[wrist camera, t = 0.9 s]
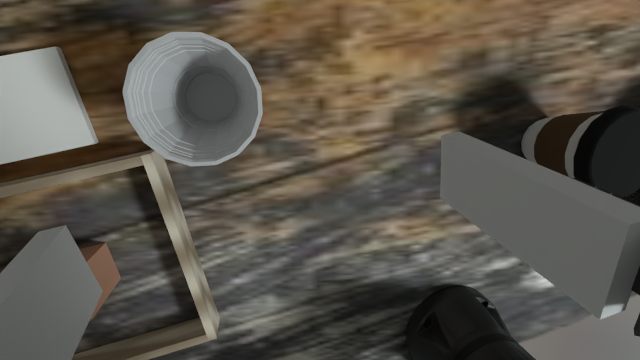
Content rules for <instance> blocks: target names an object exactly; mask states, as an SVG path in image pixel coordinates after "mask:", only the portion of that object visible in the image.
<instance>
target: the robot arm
mask: <svg viewBox="0 0 640 360" xmlns="http://www.w3.org/2000/svg"><path fill="white" fill-rule="evenodd" d="M440 198H441V199H442V200H443V201H444V202H446V203H447V204H448V205H450V206H451V207H452V208H454V209H455V210H456V211H458V212H459V213H460V214H462V215H463V216H464V217H465V218H467V219H468V220H469V221H471V222H472V223H473V224H475V225H476V226H477V227H479V228H480V229H481V230H483V231H484V232H485V233H486V234H488V235H489V236H490V237H492V238H493V239H494V240H496V241H497V242H498V243H500V244H501V245H502V246H504V247H505V248H506V249H508V250H509V251H510V252H511V253H513V254H514V255H515V256H517V257H518V258H519V259H521V260H522V261H523V262H525V263H526V264H527V265H529V266H530V267H531V268H532V269H534V270H535V271H536V272H538V273H539V274H540V275H542V276H543V277H544V278H546V279H547V280H548V281H550V282H551V283H552V284H553V285H555V286H556V287H557V288H559V289H560V290H561V291H563V292H564V293H565V294H567V295H568V296H569V297H571V298H572V299H573V300H574V301H576V302H577V303H578V304H580V305H581V306H582V307H584V308H585V309H586V310H588V311H589V312H590V313H592V314H593V315H594V316H596V317H597V318H598V319H603V318H605V317H608V316H611V315H613V314H616V313H618V312H621V311H623V310H625V308H626V306H627V303H628V300H629V297H630V295H631V292H632V291H634V292H635V293H637V294H639V295H640V204H637V203H635V202H632V201H630V200H628V199H625V198H623V197H620V196H618V195H612V193H611V192H608V191H606V190H603V189H601V188H599V189H597V187H596V186H594V185H591V184H589V183H586V182H584V181H581V180H579V179H575V178H571V177H567V176H565V175H562V174H560V173H558V172H555V171H553V170H550V169H548V168H546V167H543V166H541V165H538V164H536V163H534V162H531V161H529V160H526V159H524V158H522V157H519V156H517V155H515V154H512V153H510V152H507V151H505V150H503V149H500V148H498V147H495V146H493V145H491V144H488V143H486V142H483V141H481V140H479V139H476V138H474V137H471V136H469V135H467V134H464V133H462V132H460V131H459V132H455V133H451V134H447V135H442V144H441V191H440ZM102 292H103V290H102V288H101V287H100V285H99V283H98V281H97V280H96V278H95V276H94V274H93V272H92V271H91V269H90V267H89V265H88V264H87V262H86V260H85V258H84V257H83V255H82V253H81V251H80V250H79V248H78V246H77V244H76V243H75V241H74V239H73V237H72V235H71V234H70V232H69V230H68V228H67V227H66V225H64V226H60V227H56V228H52V229H47V230H43V231H39V232H38V233H37V234H36V235H35V236H34V237H33V238H32V239H31V240H30V241H29V242H28V244H27V245H26V246H25V247H24V248H23V249H22V250H21V251H20V252H19V253H18V254H17V256H16V257H15V258H14V259H13V260H12V261H11V262H10V263H9V264H8V265H7V266H6V267H5V269H4V270H3V271H2V272H1V273H0V360H72V358H73V356H74V353H75V351H76V349H77V347H78V345H79V342H80V340H81V338H82V336H83V334H84V332H85V329H86V327H87V325H88V323H89V321H90V319H91V316H92V314H93V312H94V310H95V308H96V305H97V303H98V301H99V299H100V297H101V295H102ZM634 335H636V336H640V314H639V316H638V319H637V322H636V324H635V327H634ZM406 345H407V348H408V351H409V353H410V354H411V356H412V358H413V359H414V360H536V359H534V358H533V357H532V356H531V355H530V354H529V353H528V352H527V351H526V350H525V349H524V348H523V347H521V346H520V345H519V344H518V343H517V342H516V341H515V340H514V339H513V338H512V337H511V335H510V333H509V331H508V329H507V328H506V326H505V324H504V322H503V320H502V318H501V317H500V315H499V313H498V311H497V309H496V308H495V306H494V305H493V304H492V303H491V302H490V301H489V300H488V299H487V298H486V297H485V296H483V295H482V294H481V293H480V292H478V291H477V290H475V289H472V288H469V287H463V286H457V287H450V288H446V289H443V290H441V291H438V292H436V293H434V294H433V295H431V296H430V297H428V298H427V299H426V300H425V301H423V302H422V303H421V304H420V305H419V307H418V308H417V309H416V310H415V312H414V313H413V315H412V317H411V318H410V321H409V323H408V326H407V330H406Z"/></svg>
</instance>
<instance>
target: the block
mask: <svg viewBox="0 0 640 360" xmlns="http://www.w3.org/2000/svg"><path fill="white" fill-rule="evenodd" d="M79 250H80V251H81V253H82V255H83V257H84V258H85V260H86V262H87V264H88V265H89V267H90V269H91V271H92V272H93V274H94V276H95V278H96V280H97V281H98V283H99V285H100V287H101V288H102V290H103V292H102V295H101V297H100V299H99V301H98V303H97V305H96V308H95V310H94V312H93V314H92V316H91V319H90V320H92V319H93V318H94V316H95V315H96V314H97V312H98V311H99V309H100V308H101V306H102V305H103V303H104V302H105V301H106V299H107V298H108V296H109V295H110V293H111V292H112V290H113V289H114V288H115V286H116V285H117V283H118V282H119V280H120V279H121V277H120V274H119V272H118V270H117V267H116V265H115V263H114V260H113V258H112V256H111V254H110V251H109V249H108V247H107V244H106V242H105V243H101V244H98V245H94V246H90V247H86V248H82V249H79Z"/></svg>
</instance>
